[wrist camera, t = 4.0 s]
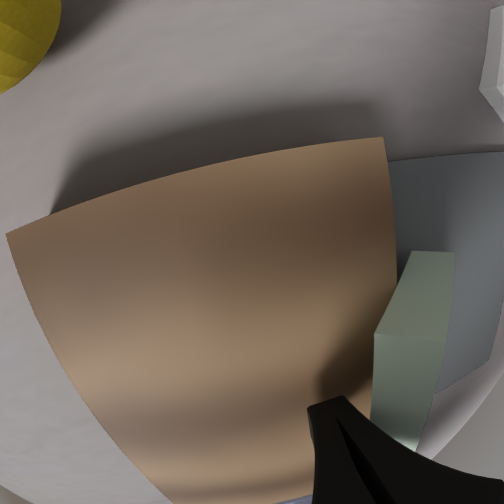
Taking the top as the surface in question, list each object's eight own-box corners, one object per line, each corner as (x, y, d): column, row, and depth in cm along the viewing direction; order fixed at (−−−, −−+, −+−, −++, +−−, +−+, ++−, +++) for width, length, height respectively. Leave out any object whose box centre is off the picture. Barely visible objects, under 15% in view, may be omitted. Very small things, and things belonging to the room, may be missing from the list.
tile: (403, 383, 14) (435, 388, 12) (362, 470, 9) (403, 479, 8) (411, 250, 11) (454, 252, 10) (374, 333, 7) (446, 341, 6)
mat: (485, 357, 16) (488, 359, 15) (367, 421, 15) (369, 425, 15) (504, 150, 11) (508, 151, 11) (357, 166, 11) (362, 166, 10)
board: (358, 440, 16) (375, 471, 13) (185, 479, 15) (185, 514, 12) (342, 142, 10) (383, 136, 7) (47, 217, 10) (5, 233, 7)
